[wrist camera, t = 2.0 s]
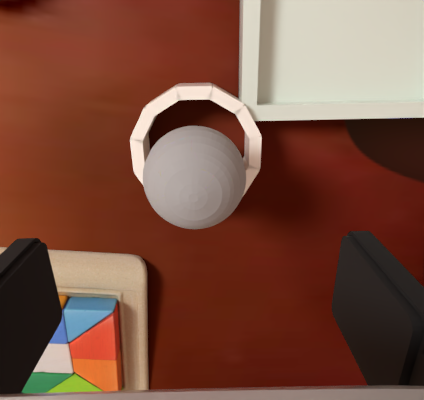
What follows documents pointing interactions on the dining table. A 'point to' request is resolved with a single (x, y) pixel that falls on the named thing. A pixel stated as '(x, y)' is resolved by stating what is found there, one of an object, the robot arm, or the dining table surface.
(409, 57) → the tray
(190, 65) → the dining table surface
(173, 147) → the light bulb
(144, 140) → the holder ring
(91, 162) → the dining table surface
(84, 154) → the dining table surface
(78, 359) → the wooden puzzle
